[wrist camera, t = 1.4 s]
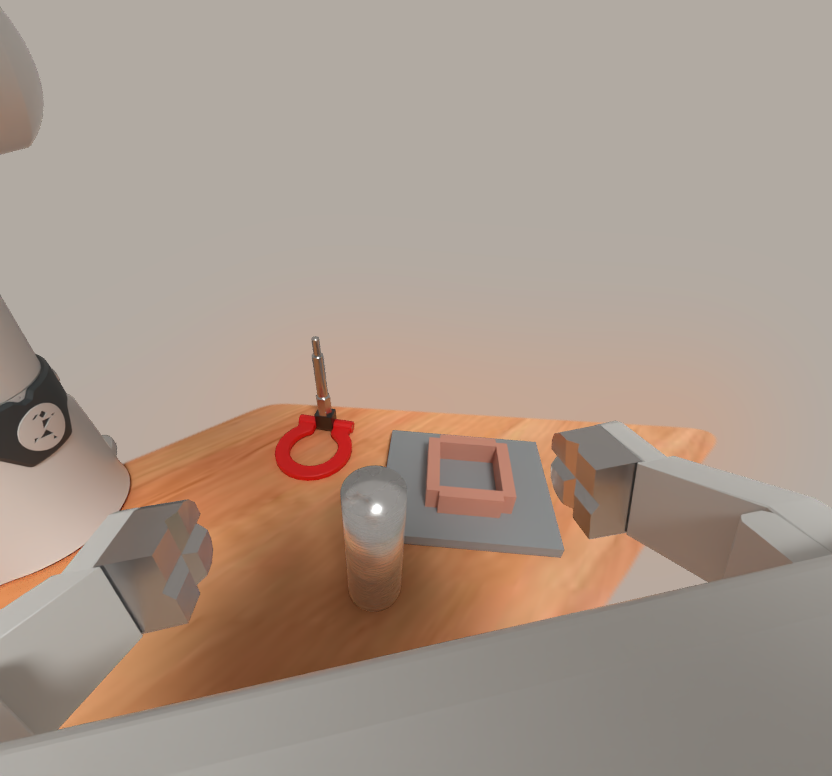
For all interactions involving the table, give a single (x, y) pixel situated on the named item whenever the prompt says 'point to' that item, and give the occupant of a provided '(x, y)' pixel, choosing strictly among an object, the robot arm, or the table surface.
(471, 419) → the table surface
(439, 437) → the keeper
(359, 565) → the brushed steel cylinder
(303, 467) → the tow hook
